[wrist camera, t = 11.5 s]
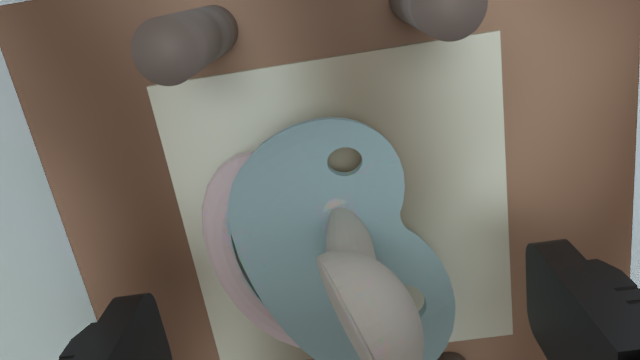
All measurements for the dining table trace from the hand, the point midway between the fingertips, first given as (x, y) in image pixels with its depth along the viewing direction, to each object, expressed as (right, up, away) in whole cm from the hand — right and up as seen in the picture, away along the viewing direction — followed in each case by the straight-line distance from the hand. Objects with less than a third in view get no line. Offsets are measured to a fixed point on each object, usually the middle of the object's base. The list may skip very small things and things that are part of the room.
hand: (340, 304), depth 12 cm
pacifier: (-1, +1, +4) cm, 4 cm away
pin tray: (0, +2, +5) cm, 5 cm away
